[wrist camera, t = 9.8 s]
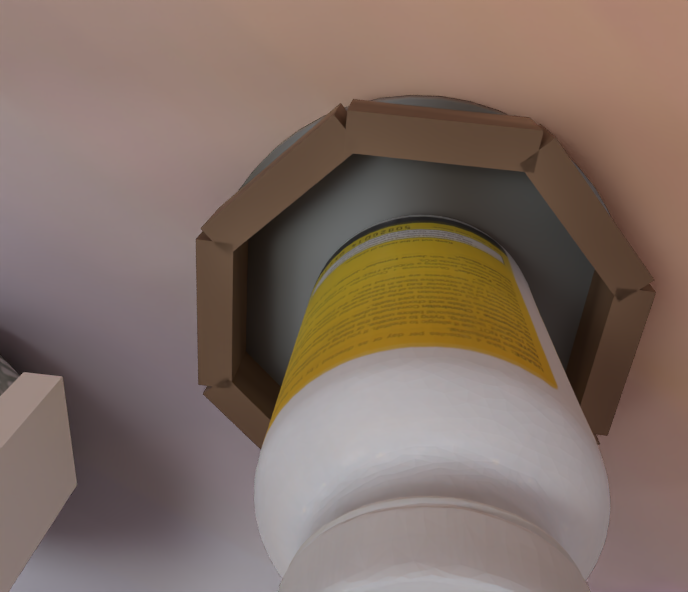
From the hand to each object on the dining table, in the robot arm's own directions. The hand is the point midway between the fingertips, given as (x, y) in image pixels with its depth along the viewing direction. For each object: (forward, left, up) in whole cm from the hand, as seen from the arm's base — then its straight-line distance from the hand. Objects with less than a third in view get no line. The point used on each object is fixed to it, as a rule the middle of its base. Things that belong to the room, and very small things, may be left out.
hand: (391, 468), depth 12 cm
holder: (0, 0, -8) cm, 8 cm away
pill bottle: (+1, 0, -7) cm, 7 cm away
